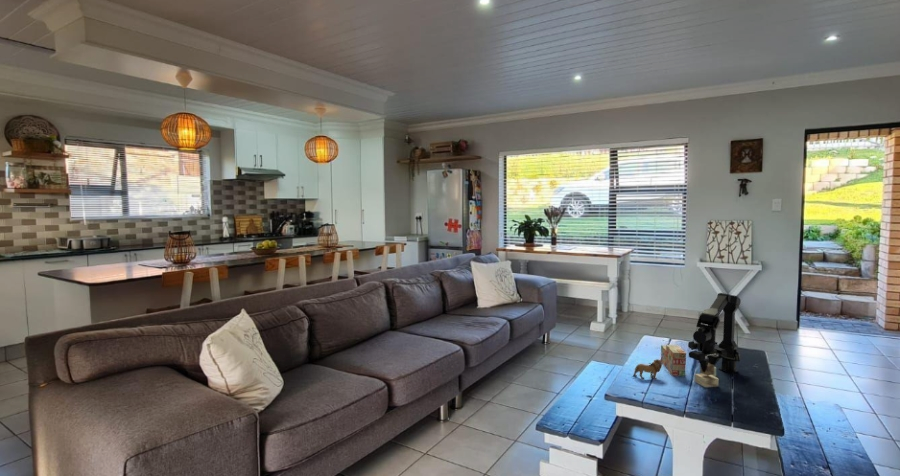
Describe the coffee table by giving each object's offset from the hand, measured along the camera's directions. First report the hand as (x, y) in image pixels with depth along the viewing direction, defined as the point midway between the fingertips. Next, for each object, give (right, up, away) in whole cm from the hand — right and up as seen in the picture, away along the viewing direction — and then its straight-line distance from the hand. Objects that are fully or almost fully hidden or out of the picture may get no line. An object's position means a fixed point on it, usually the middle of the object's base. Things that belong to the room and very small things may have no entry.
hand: (706, 371), depth 216 cm
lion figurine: (-25, -6, +9) cm, 27 cm away
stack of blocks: (-6, -5, +21) cm, 22 cm away
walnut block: (0, -1, 0) cm, 1 cm away
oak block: (0, -6, 0) cm, 6 cm away
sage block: (+7, -6, +11) cm, 14 cm away
